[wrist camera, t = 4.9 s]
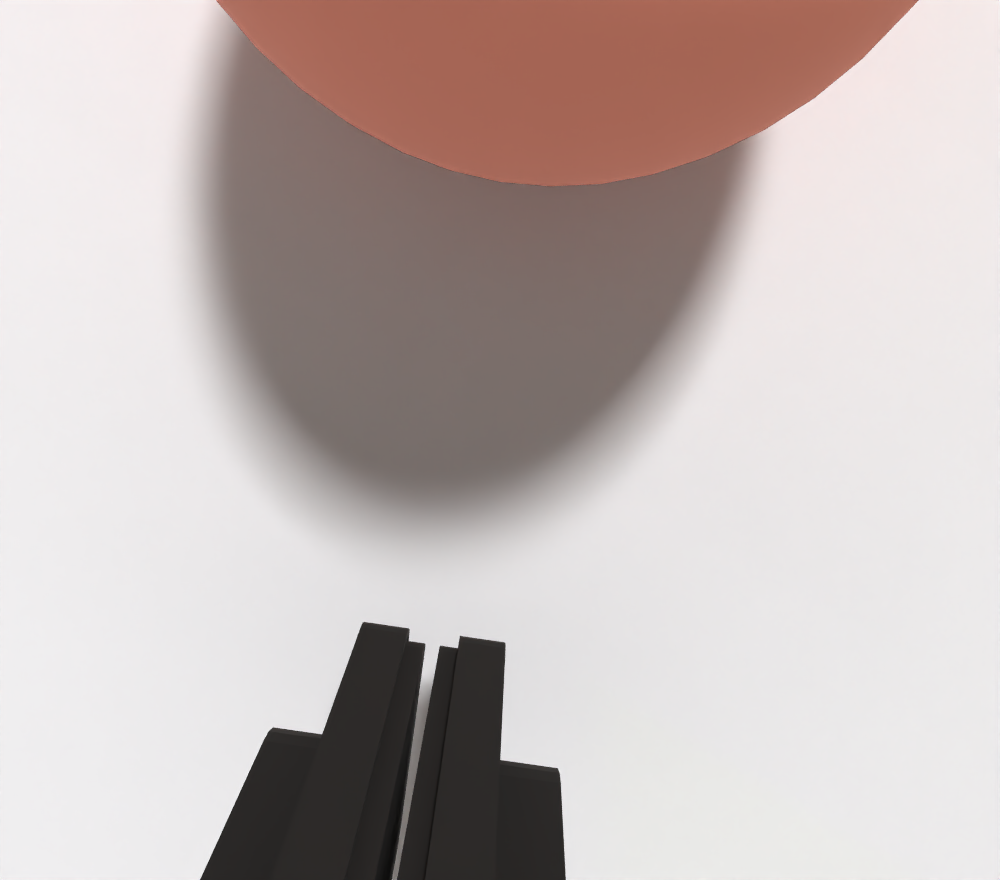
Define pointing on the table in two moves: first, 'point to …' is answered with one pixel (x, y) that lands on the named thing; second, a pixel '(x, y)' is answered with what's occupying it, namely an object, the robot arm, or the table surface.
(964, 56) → the table surface
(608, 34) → the ball
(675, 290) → the table surface
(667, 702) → the table surface
